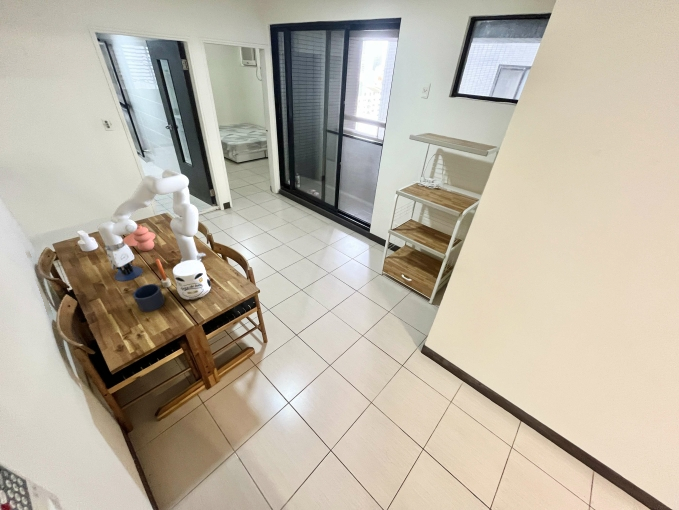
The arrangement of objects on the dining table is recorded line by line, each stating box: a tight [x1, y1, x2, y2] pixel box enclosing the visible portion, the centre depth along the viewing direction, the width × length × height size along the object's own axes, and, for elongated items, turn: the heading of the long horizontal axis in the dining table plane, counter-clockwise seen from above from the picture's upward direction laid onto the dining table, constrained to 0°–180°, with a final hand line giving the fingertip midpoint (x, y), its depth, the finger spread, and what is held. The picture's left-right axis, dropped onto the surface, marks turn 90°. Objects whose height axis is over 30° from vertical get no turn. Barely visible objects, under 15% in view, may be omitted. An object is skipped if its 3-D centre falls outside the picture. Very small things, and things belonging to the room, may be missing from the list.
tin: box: [132, 283, 166, 313], centre depth 147 cm, size 12×12×9 cm
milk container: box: [172, 260, 212, 301], centre depth 154 cm, size 17×17×18 cm
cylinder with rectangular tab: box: [76, 229, 99, 252], centre depth 186 cm, size 9×9×12 cm
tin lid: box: [113, 265, 143, 282], centre depth 152 cm, size 13×13×6 cm
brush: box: [155, 258, 172, 289], centre depth 157 cm, size 4×4×19 cm
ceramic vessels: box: [122, 224, 156, 252], centre depth 194 cm, size 35×21×19 cm, turn 46°
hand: (128, 272), depth 153 cm, fingers closed on tin lid, 2 cm apart
